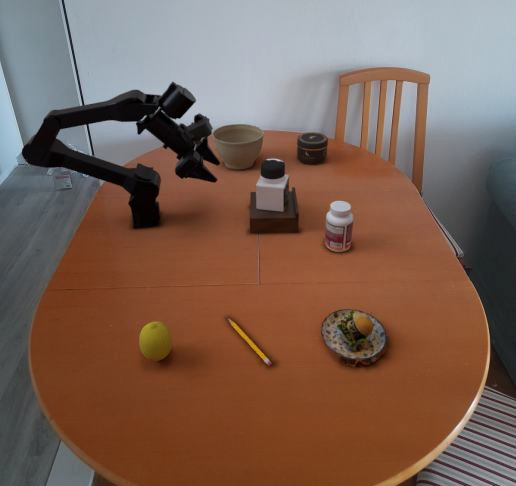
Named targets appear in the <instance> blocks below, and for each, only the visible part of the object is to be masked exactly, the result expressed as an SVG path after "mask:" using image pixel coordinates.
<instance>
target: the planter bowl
mask: <svg viewBox="0 0 516 486" xmlns="http://www.w3.org/2000/svg"><path fill="white" fill-rule="evenodd" d="M264 134H265V133H264V130H263V129H262V128H260V127H259V126H256V125H253V124H247V123H233V124H226V125H222V126H219V127H217V128H216V129H214V130H213V131H212V134H211V135H212V139H213V144H214V149H215V151H216V153H217V155H218V156H219V158H220V159H221V160H222V161H223V164H224V166H225V167H226V168H228V169H231V170H246V169H250V168H251V167H252V166H253V165H254V163H255V161H256V159H257V158H258V156H259V155H260V152H261V151H262V147H263V143H264V136H265V135H264Z"/></svg>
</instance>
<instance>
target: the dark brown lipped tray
mask: <svg viewBox="0 0 516 486" xmlns="http://www.w3.org/2000/svg"><path fill="white" fill-rule="evenodd" d="M249 195H250V196H249V230H250V231H249V233H250V234H285V233H287V234H289V233H290V234H291V233H293V234H294V233H296V234H297V233H299V226H300V225H299V224H300V223H299V222H300V212H299V205H298V198H297V191H296V187H295V186H292V187H291V190H289V198H288V201H287V204H286V207H285V210H284V212H279V211H270V210H261V209H257V207H256V191H250V193H249Z"/></svg>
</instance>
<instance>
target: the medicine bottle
mask: <svg viewBox="0 0 516 486" xmlns="http://www.w3.org/2000/svg"><path fill="white" fill-rule="evenodd" d="M289 191H290V175H289V174H286V163H285V162H284V161H283V160H281V159H279V158H266V159H264V160H262V161H261V163H260V176H259V177H258V180H257V182H256V184H255V192H256V207H257V209H261V210H270V211H279V212H284V210H285V207H286V204H287V201H288V198H289Z"/></svg>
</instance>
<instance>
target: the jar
mask: <svg viewBox="0 0 516 486" xmlns="http://www.w3.org/2000/svg"><path fill="white" fill-rule="evenodd" d="M296 139H297V140H296V146H297V147H296V155H297V159H298V160H299V162H301V163H303V164H305V165H320V164H322V163H324V162H325V161H326V158H327V156H328V146H329V138H328V136H327V135H326V134H323V133H321V132H315V131H314V132H313V131H312V132H311V131H310V132H309V131H307V132H304V133H301V134H299V135H298V136H297V138H296Z"/></svg>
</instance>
